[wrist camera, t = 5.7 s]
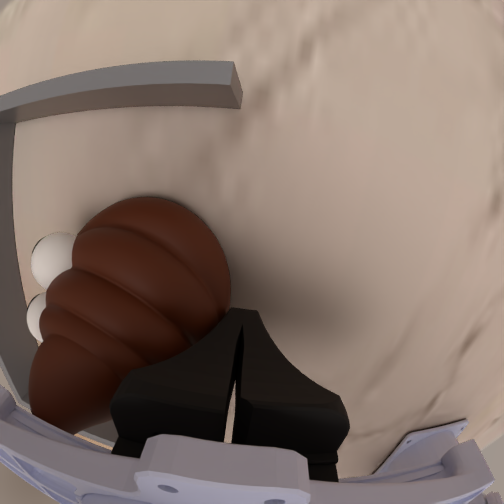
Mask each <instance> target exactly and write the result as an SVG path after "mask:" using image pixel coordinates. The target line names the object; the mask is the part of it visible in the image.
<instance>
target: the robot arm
mask: <svg viewBox="0 0 504 504" xmlns="http://www.w3.org/2000/svg"><path fill="white" fill-rule="evenodd" d="M235 380H236V387H235V417H234V425H233V434H232V442H231V443H224V438H225V430H226V422H227V415H228V409H229V404H230V400H231V396H232V392H233V388H234V384H235ZM109 408H110V414H111V417H112V419H113V422H114V425H115V428H116V430H117V433H118V438H117V440H116V443H115V445H114V447H113V449H112V451H111V450H109V449H106V448H103V447H101V446H98V445H95V444H93V443H90V442H88V441H86V440H83V439H81V438H79V437H76V436H74V435H72V434H70V433H67V432H65V431H63V430H61V429H59V428H57V427H55V426H53V425H51V424H49V423H47V422H45V421H43V420H42V419H40V418H38V417H36V416H34V415H32V414H31V413H29V412H27V411H26V410H24V409H22V408H21V407H19V406H17V405H16V402H15V400H14V398H13V396H12V395H11V393H10V392H9V391H8V390H7V389H5V387H3V386H1V385H0V462H1V463H3V464H4V465H5V466H6V467H8V468H9V469H10V470H11V471H13V472H14V473H15V474H17V475H18V476H20V477H21V478H22V479H24V480H25V481H26V482H28V483H29V484H31V485H32V486H34V487H35V488H37V489H38V490H40V491H41V492H43V493H44V494H46V495H47V496H49V497H50V498H52V499H54V500H56V501H57V502H59V503H60V504H504V503H503V501H502V498H501V496H500V494H499V493H498V492H496V493H495V492H494V493H493V492H490V493H489V494H487V495H485V494H483V493H482V492H483V491H484V490H485V489H486V488H488V487H489V486H490V485H491V484H492V483H494V481H495V479H494V477H493V475H492V473H491V471H490V469H489V467H488V465H487V463H486V461H485V459H484V457H483V455H482V453H481V451H480V449H479V448H478V446H477V444H476V442H475V440H474V439H471V440H469V441H466V442H463V443H460V444H459V443H458V441H457V439H456V438H457V437H458V436H459V434H460V433H461V432H462V431H463V430H464V428H465V427H466V426H467V425H468V423H469V422H468V420H463V421H459V422H456V423H452V424H448V425H444V426H440V427H436V428H431V429H427V430H422V431H417V432H412V433H409V434H408V435H407V436H406V437H405V438H404V439H403V441H402V442H401V443H400V444H399V446H398V447H397V448H396V449H395V450H394V452H393V453H392V454H391V455H390V456H389V458H388V459H387V460H386V461H385V462H384V463H383V464H382V466H381V467H380V468H379V469H378V470H377V471H376V472H375V473H374V474H373V475H367V476H360V477H353V478H344V479H338V475H337V469H336V464H335V463H337V462H338V455H337V450H338V448H339V447H340V445H341V444H342V442H343V441H344V439H345V437H346V436H347V434H348V431H349V429H350V424H349V419H348V415H347V412H346V409H345V407H344V405H343V403H342V400H341V398H340V396H339V395H337V394H335V393H333V392H331V391H329V390H327V389H325V388H323V387H322V386H320V385H318V384H317V383H315V382H314V381H312V380H311V379H309V378H308V377H307V376H305V375H304V374H303V373H301V372H300V371H299V370H298V369H297V368H296V367H294V366H293V365H292V364H291V363H290V362H289V361H288V360H287V359H286V358H285V356H284V355H283V354H282V353H281V352H280V350H279V349H278V348H277V346H276V345H275V343H274V342H273V340H272V339H271V337H270V335H269V334H268V332H267V330H266V328H265V326H264V324H263V322H262V320H261V318H260V315H259V313H258V311H256V310H248V309H240V308H231V309H229V311H228V312H227V314H226V315H225V316H224V318H223V319H222V320H221V321H220V322H219V323H218V324H217V325H216V326H215V328H214V329H213V330H212V331H210V332H209V333H208V334H207V335H206V336H205V337H204V338H203V339H201V340H200V341H199V342H197V343H196V344H195V345H193V346H192V347H190V348H189V349H187V350H185V351H184V352H182V353H180V354H178V355H176V356H174V357H172V358H170V359H167V360H165V361H162V362H159V363H156V364H153V365H150V366H146V367H142V368H138V369H133V370H131V371H130V372H129V373H128V375H127V376H126V377H125V378H124V380H123V381H122V382H121V384H120V385H119V387H118V389H117V391H116V392H115V394H114V396H113V398H112V399H111V402H110V405H109Z"/></svg>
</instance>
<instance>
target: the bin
mask: <svg viewBox="0 0 504 504" xmlns="http://www.w3.org/2000/svg"><path fill="white" fill-rule="evenodd" d="M242 94H243V91H242V88H241V84H240V81H239V78H238V74H237V71H236V67H235V64H234V62H231V61H163V62H149V63H138V64H129V65H120V66H113V67H107V68H100V69H95V70H89V71H84V72H79V73H75V74H70V75H66V76H62V77H58V78H54V79H50V80H46V81H43V82H39V83H36V84H33V85H30V86H26V87H23V88H20V89H18V90H15V91H12V92H9V93H6V94H4V95H1V96H0V367H1V368H2V371H3V373H4V375H5V377H6V379H7V381H8V383H9V385H10V387H11V389H12V391H13V393H14V395H15V397H16V399H17V401H18V402H19V403H20V404H21V405H23V406H25V407H26V408H28V409H30V410H31V408H30V403H29V395H28V385H29V375H30V370H31V366H32V362H33V359H34V356H35V354H36V352H37V350H38V345H37V342H36V339H35V337H34V336H33V335H32V334H31V332H30V330H29V328H28V324H27V306H26V302H25V298H24V293H23V289H22V284H21V278H20V273H19V267H18V260H17V253H16V246H15V237H14V226H13V211H12V156H13V142H14V131H15V123H17V122H22V121H26V120H31V119H36V118H41V117H46V116H52V115H58V114H64V113H71V112H79V111H87V110H96V109H107V108H120V107H138V106H202V107H221V108H234V109H241V102H242ZM78 434H80V435H82V436H85V437H87V438H90V439H92V440H95V441H97V442H100V443H103V444H105V445H108V446H111V447H114V445H115V443H116V440H117V438H118V433H117V430H116V428H115V425H114V422H113V419H112V420H110V421H107V422H105V423H102V424H98V425H95V426H92V427H90V428H87V429H85V430H83V431H80V432H78Z"/></svg>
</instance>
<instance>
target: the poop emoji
mask: <svg viewBox="0 0 504 504" xmlns="http://www.w3.org/2000/svg"><path fill="white" fill-rule="evenodd" d="M31 269H32V273H33V276H34V278H35V279H36V281H37V282H38V283H39V284H40V285H41V286H42V287H43V288H45V289H46V290H47V291H46V292H44V293H41V294H38V295H37V296H35V297H34V298H33V299H32V300H31V302H30V303H29V305H28V308H27V324H28V328H29V330H30V332H31V334H32V335H33V336H34V337H35V338H36V339H37V340H38V341H40V342H42V343H41V345H40V346H39V348H38V350H37V352H36V354H35V356H34V359H33V362H32V366H31V370H30V375H29V385H28V395H29V403H30V408H31V412H32V415H34V416H36V417H38V418H40V419H42V420H43V421H45V422H47V423H49V424H51V425H53V426H55V427H57V428H59V429H61V430H63V431H65V432H67V433H70V434H72V435H74V434H76V433H78V432H80V431H83V430H85V429H87V428H90V427H92V426H95V425H98V424H102V423H105V422H107V421H110V420H112V417H111V414H110V408H109V405H110V402H111V399H112V398H113V396H114V394H115V392H116V391H117V389H118V387H119V385H120V384H121V382H122V381H123V380H124V378H125V377H126V376H127V375H128V373H129V372H130V371H131V370H133V369H138V368H142V367H146V366H150V365H153V364H156V363H159V362H162V361H165V360H167V359H170V358H172V357H174V356H176V355H178V354H180V353H182V352H184V351H185V350H187V349H189V348H190V347H192V346H193V345H195V344H196V343H197V342H199V341H200V340H201V339H203V338H204V337H205V336H206V335H207V334H208V333H209V332H210V331H212V330H213V329H214V328H215V326H216V325H217V324H218V323H219V322H220V321H221V320H222V319H223V318H224V316H225V315H226V314H227V312H228V311H229V306H230V296H231V284H230V274H229V269H228V265H227V261H226V258H225V255H224V253H223V250H222V248H221V246H220V244H219V242H218V240H217V239H216V237H215V236H214V234H213V233H212V231H211V230H210V229H209V228H208V227H207V225H206V224H205V223H204V222H203V221H202V220H201V219H199V218H198V217H197V216H196V215H195V214H193V213H192V212H190V211H189V210H187V209H186V208H184V207H182V206H180V205H178V204H176V203H174V202H171V201H168V200H164V199H160V198H154V197H137V198H131V199H127V200H123V201H120V202H118V203H115V204H113V205H111V206H109V207H107V208H106V209H104V210H103V211H101V212H100V213H98V214H97V215H96V216H95V217H93V218H92V219H91V220H90V221H89V222H88V223H87V224H86V225H85V226H84V227H83V228H82V230H81V231H80V232H79V233H78V235H77V237H76V236H74V235H72V234H69V233H65V232H57V233H52V234H50V235H48V236H46V237H44V238H42V239H41V240H39V241H38V243H37V244H36V245H35V247H34V249H33V252H32V258H31Z"/></svg>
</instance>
